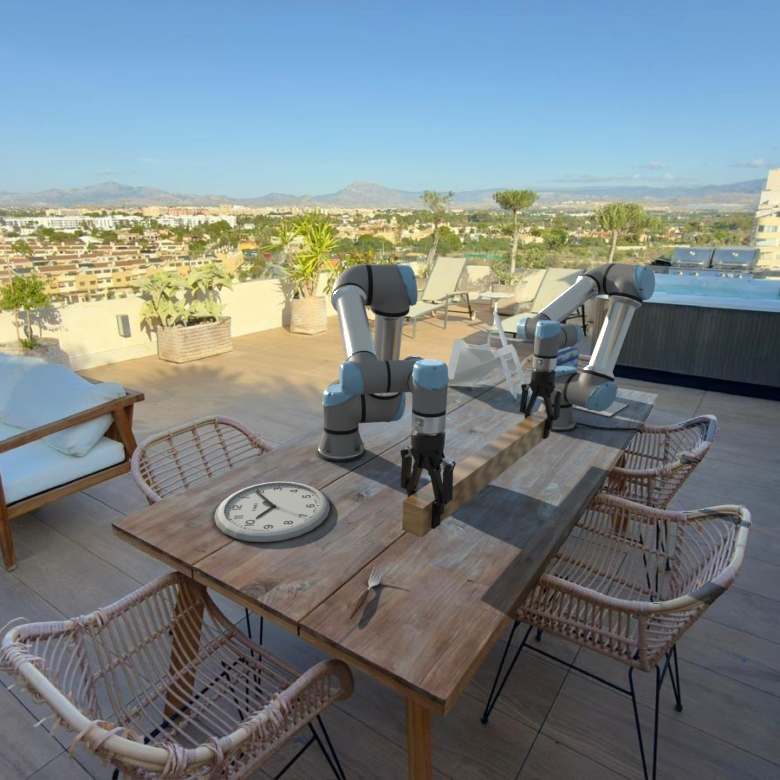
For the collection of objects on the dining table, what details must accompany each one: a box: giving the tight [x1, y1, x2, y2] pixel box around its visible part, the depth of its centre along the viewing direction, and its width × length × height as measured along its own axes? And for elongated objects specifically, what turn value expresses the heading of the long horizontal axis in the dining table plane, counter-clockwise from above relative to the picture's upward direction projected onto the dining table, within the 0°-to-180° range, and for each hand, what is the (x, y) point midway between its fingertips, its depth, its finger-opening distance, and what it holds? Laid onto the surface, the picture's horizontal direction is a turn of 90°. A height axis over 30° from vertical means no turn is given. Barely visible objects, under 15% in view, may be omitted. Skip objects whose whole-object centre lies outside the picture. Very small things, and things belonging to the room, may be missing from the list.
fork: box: [349, 563, 386, 620], centre depth 108 cm, size 3×16×2 cm, turn 160°
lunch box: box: [556, 347, 580, 369], centre depth 245 cm, size 26×11×21 cm, turn 135°
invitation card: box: [573, 400, 629, 418], centre depth 226 cm, size 21×1×15 cm
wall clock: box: [213, 481, 331, 543], centre depth 139 cm, size 30×2×30 cm
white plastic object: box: [447, 310, 531, 400], centre depth 245 cm, size 37×45×31 cm
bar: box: [401, 410, 551, 539], centre depth 148 cm, size 80×5×7 cm, turn 143°
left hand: (424, 521), depth 123 cm, fingers closed on bar, 5 cm apart
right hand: (536, 435), depth 176 cm, fingers closed on bar, 5 cm apart
